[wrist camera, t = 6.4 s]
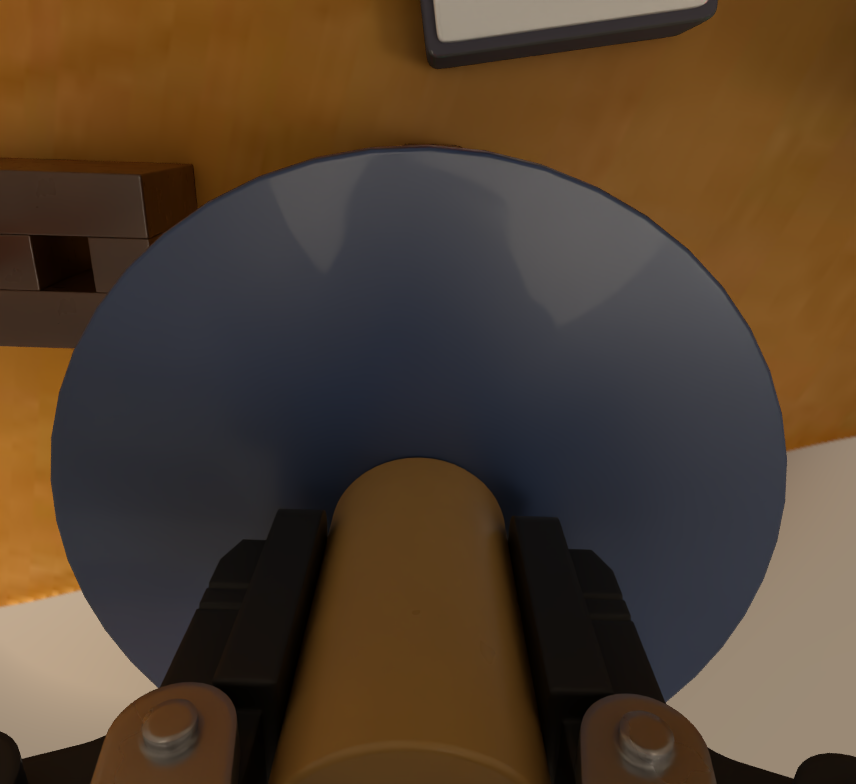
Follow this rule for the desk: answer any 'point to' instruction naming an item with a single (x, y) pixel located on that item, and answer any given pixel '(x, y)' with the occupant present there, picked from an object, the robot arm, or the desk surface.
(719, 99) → the desk surface
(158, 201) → the straw holder
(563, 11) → the calculator
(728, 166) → the desk surface
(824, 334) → the desk surface
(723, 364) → the tin lid
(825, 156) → the desk surface
